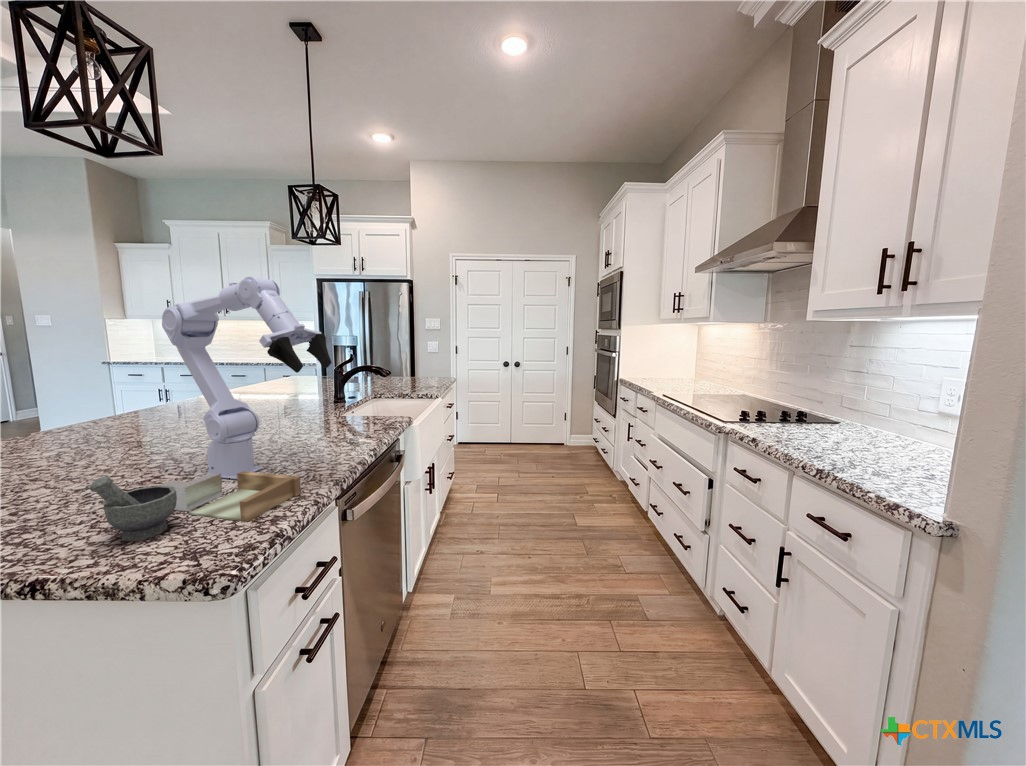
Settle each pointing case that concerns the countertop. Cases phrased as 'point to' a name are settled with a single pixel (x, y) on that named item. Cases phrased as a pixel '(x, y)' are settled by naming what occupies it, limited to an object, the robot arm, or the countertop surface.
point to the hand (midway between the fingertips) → (314, 367)
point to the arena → (252, 496)
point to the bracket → (196, 491)
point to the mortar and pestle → (136, 508)
